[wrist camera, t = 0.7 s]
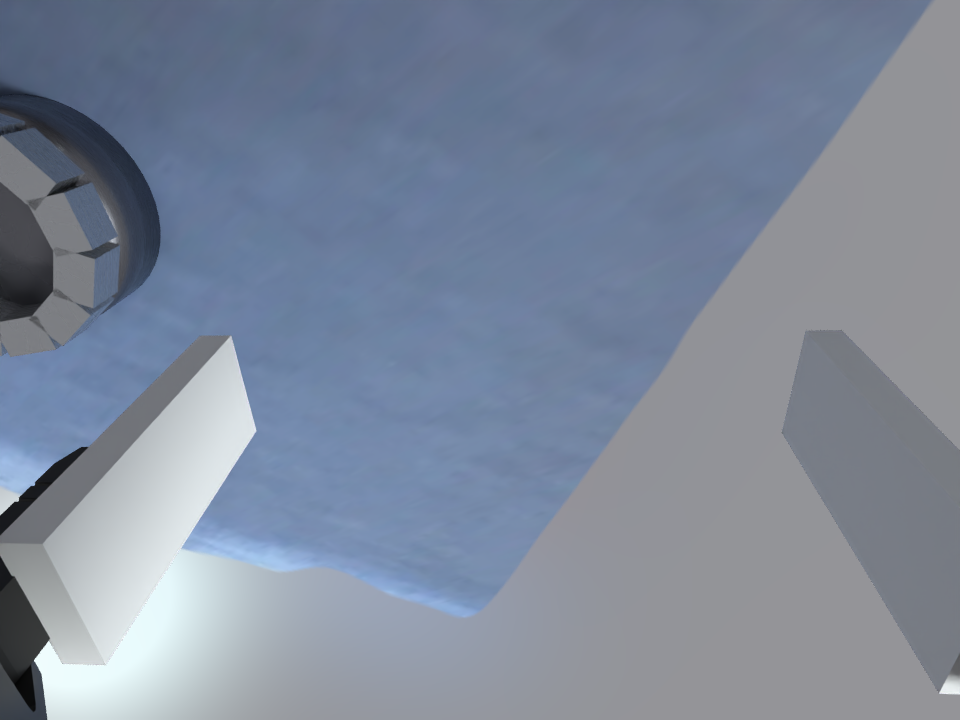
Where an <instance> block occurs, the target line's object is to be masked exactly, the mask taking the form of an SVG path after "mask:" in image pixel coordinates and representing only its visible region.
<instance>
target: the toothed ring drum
mask: <svg viewBox="0 0 960 720" xmlns="http://www.w3.org/2000/svg"><path fill="white" fill-rule="evenodd" d="M159 247H160V223H159V216H158V212H157V208H156V204H155V201H154V198H153V195H152V193H151V190H150V188H149V186H148V184H147V182H146V180H145V178H144V176H143V174H142V173H141V171H140V170H139V168H138V167H137V165H136V163H135V162H134V161H133V159H132V158H131V157H130V155H129V154H128V153H127V152H126V150H125V149H124V148H123V147H122V146H121V145H120V144H119V143H118V142H117V141H116V140H115V139H114V138H113V137H112V136H111V135H110V134H109V133H108V132H107V131H105V130H104V129H103V128H102V127H101V126H100V125H98V124H97V123H95V122H94V121H92V120H91V119H89V118H88V117H87V116H85V115H83V114H81V113H80V112H78V111H76V110H74V109H72V108H71V107H68V106H66V105H63V104H61V103H59V102H56V101H53V100H49V99H46V98H42V97H37V96H31V95H5V96H0V356H3V355H4V354H6V353H7V352H8V353H9V355H10V357H13V356H19V355H25V354H31V353H37V352H43V351H50V350H56V349H57V348H59V347H60V346H64V345H65V344H66V343H68V342H69V341H71V340H72V339H73V338H75V337H76V336H78V335H79V334H80V333H82V332H83V331H85V330H86V329H87V328H89V326H90V325H91V324H92V323H93V322H94V321H95V320H96V319H97V318H98V317H99V316H100V315H101V314H103V313H104V312H105V311H107V310H108V309H110V308H111V307H113V306H114V305H115V304H117V303H118V302H120V301H121V300H122V299H124V298H125V297H127V296H128V295H130V294H131V293H132V292H134V291H135V290H136V289H137V288H139V287H140V286H141V285H142V284H143V283H144V282H145V280H146V279H147V278H148V276H149V275H150V273H151V271H152V270H153V268H154V266H155V263H156V260H157V257H158V253H159Z"/></svg>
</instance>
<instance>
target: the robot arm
mask: <svg viewBox="0 0 960 720" xmlns="http://www.w3.org/2000/svg"><path fill="white" fill-rule="evenodd" d="M255 432H256V428H255V424H254V420H253V417H252V413H251V409H250V405H249V402H248V398H247V394H246V390H245V386H244V383H243V379H242V375H241V371H240V367H239V364H238V360H237V356H236V352H235V349H234V345H233V341H232V337H231V336H199V337H198V338H197V339H196V340H195V341H194V342H193V343H192V344H191V345H190V346H189V347H188V348H187V349H186V350H185V351H184V352H183V353H182V354H181V355H180V356H179V357H178V358H177V359H176V360H175V361H174V362H173V363H172V364H171V365H170V366H169V367H168V368H167V369H166V370H165V371H164V372H163V373H162V374H161V375H160V376H159V377H158V378H157V379H156V380H155V381H154V382H153V383H152V384H151V385H150V386H149V387H148V388H147V389H146V390H145V391H144V392H143V393H142V394H141V395H140V396H139V397H138V398H137V399H136V400H135V401H134V402H133V403H132V404H131V405H130V406H129V407H128V408H127V409H126V410H125V411H124V412H123V413H122V414H121V415H120V416H119V417H118V418H117V419H116V420H115V421H114V422H113V423H112V424H111V425H110V426H109V427H108V428H107V429H106V430H105V431H104V432H103V433H102V434H101V435H100V436H99V437H98V438H97V439H96V440H95V441H94V442H93V443H92V444H91V445H90V446H89V447H81V448H79V449H77V450H76V451H74V452H72V453H71V454H69V455H68V456H66V457H64V458H63V459H61V460H59V461H58V462H56V463H54V464H53V465H52V466H51V467H50V468H49V469H48V470H47V471H46V472H45V473H44V474H43V475H42V476H41V477H40V478H39V479H38V480H37V481H36V482H35V486H31V487H30V488H28V489H27V490H26V491H25V492H24V493H23V494H22V495H21V496H20V497H19V501H18V502H14V503H13V504H12V505H11V506H10V507H9V508H8V509H7V510H6V511H5V512H4V513H3V514H1V515H0V720H47V714H46V706H45V698H44V691H43V683H42V676H41V673H40V671H39V669H38V667H37V665H36V663H35V662H34V659H35V658H36V657H37V655H38V654H39V653H40V651H41V650H42V649H43V647H44V646H45V645H46V643H47V642H48V641H50V643H51V645H52V646H53V648H54V650H55V652H56V654H57V655H58V657H59V659H60V660H61V662H62V664H85V665H106V664H107V662H108V661H109V660H110V658H111V656H112V655H113V653H114V652H115V650H116V649H117V647H118V646H119V644H120V642H121V641H122V639H123V638H124V636H125V635H126V633H127V631H128V630H129V628H130V627H131V625H132V624H133V622H134V621H135V619H136V617H137V616H138V614H139V613H140V611H141V610H142V608H143V606H144V605H145V603H146V602H147V600H148V599H149V597H150V596H151V594H152V592H153V591H154V589H155V588H156V586H157V585H158V583H159V582H160V580H161V579H162V577H163V575H164V574H165V572H166V571H167V569H168V567H169V566H170V564H171V563H172V561H173V560H174V558H175V557H176V555H177V553H178V552H179V550H180V549H181V547H182V546H183V544H184V543H185V541H186V540H187V538H188V536H189V535H190V533H191V532H192V530H193V529H194V527H195V526H196V524H197V522H198V521H199V519H200V518H201V516H202V515H203V513H204V511H205V510H206V508H207V507H208V505H209V504H210V502H211V501H212V499H213V497H214V496H215V494H216V493H217V491H218V490H219V488H220V487H221V485H222V483H223V482H224V480H225V479H226V477H227V476H228V474H229V473H230V471H231V469H232V468H233V466H234V465H235V463H236V462H237V460H238V458H239V457H240V455H241V454H242V452H243V451H244V449H245V448H246V446H247V444H248V443H249V441H250V440H251V438H252V437H253V435H254V434H255ZM782 434H783V435H784V437H785V439H786V440H787V442H788V444H789V445H790V447H791V449H792V450H793V452H794V454H795V455H796V457H797V459H798V460H799V462H800V464H801V465H802V467H803V468H804V470H805V472H806V474H807V475H808V477H809V479H810V480H811V482H812V484H813V485H814V487H815V488H816V490H817V492H818V494H819V495H820V497H821V499H822V500H823V502H824V503H825V505H826V507H827V508H828V510H829V512H830V513H831V515H832V517H833V518H834V520H835V522H836V523H837V525H838V527H839V528H840V530H841V532H842V533H843V535H844V537H845V538H846V540H847V542H848V543H849V545H850V546H851V548H852V550H853V552H854V553H855V555H856V557H857V558H858V560H859V562H860V563H861V565H862V567H863V568H864V570H865V571H866V573H867V575H868V577H869V578H870V580H871V582H872V583H873V585H874V586H875V588H876V589H877V591H878V593H879V595H880V596H881V598H882V600H883V601H884V603H885V605H886V606H887V608H888V609H889V611H890V613H891V615H892V616H893V618H894V620H895V621H896V623H897V625H898V626H899V628H900V629H901V631H902V633H903V635H904V636H905V638H906V639H907V641H908V643H909V645H910V646H911V648H912V650H913V651H914V653H915V655H916V656H917V658H918V660H919V661H920V663H921V664H922V666H923V668H924V669H925V671H926V673H927V674H928V676H929V678H930V679H931V681H932V683H933V684H934V686H935V688H936V689H937V691H938V693H940V694H960V450H959V449H958V448H957V447H956V446H955V445H954V444H953V443H952V442H951V441H950V440H949V439H948V438H947V437H946V436H945V435H944V434H943V433H942V432H941V431H940V430H939V429H938V428H937V427H936V426H935V425H934V424H933V423H932V422H931V421H930V420H929V419H928V418H927V416H925V415H924V414H923V412H922V411H921V410H920V409H919V408H918V407H917V406H916V405H914V403H913V402H912V401H911V400H910V399H909V398H908V397H907V396H906V395H905V394H904V393H903V392H902V391H901V390H900V389H899V388H898V387H897V386H896V385H895V384H894V383H893V382H892V381H891V380H890V379H889V378H888V377H887V376H886V375H885V374H884V373H883V372H882V371H881V370H880V369H879V368H878V367H877V366H876V365H875V363H873V361H871V359H870V358H869V357H868V356H867V355H866V354H865V353H864V352H863V351H862V350H861V349H860V348H859V347H858V346H857V345H856V344H855V343H854V342H853V341H852V340H851V339H850V338H849V337H848V336H847V335H846V334H845V333H844V332H843V331H842V330H826V331H825V330H823V331H821V330H820V331H806V332H805V336H804V340H803V345H802V349H801V353H800V358H799V362H798V366H797V370H796V374H795V379H794V383H793V387H792V391H791V396H790V400H789V404H788V408H787V413H786V417H785V421H784V426H783V430H782Z"/></svg>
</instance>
